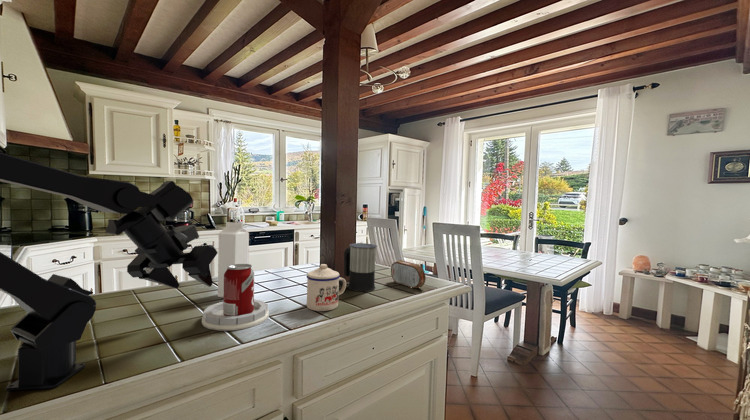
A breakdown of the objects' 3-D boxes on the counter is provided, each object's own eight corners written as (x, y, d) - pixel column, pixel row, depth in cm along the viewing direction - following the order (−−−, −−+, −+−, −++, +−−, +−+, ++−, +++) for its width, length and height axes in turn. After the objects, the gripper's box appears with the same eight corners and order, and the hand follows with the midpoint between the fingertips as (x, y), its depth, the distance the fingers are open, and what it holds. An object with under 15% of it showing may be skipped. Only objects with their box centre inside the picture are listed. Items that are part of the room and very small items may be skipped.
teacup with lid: (315, 314, 81) (316, 269, 81) (300, 304, 88) (301, 263, 88) (353, 305, 89) (355, 264, 88) (337, 297, 96) (338, 259, 95)
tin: (425, 290, 107) (426, 265, 107) (419, 291, 105) (420, 266, 105) (395, 280, 118) (395, 258, 118) (388, 281, 116) (389, 259, 116)
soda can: (233, 322, 72) (234, 270, 71) (217, 315, 76) (218, 266, 75) (259, 314, 77) (260, 265, 77) (243, 308, 81) (244, 262, 81)
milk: (232, 291, 99) (233, 221, 98) (248, 293, 97) (249, 222, 97) (217, 297, 93) (218, 222, 92) (234, 299, 91) (235, 223, 91)
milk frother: (380, 287, 108) (381, 244, 108) (354, 299, 95) (355, 250, 95) (346, 281, 116) (348, 241, 115) (318, 291, 102) (319, 245, 102)
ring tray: (262, 329, 71) (262, 318, 71) (190, 331, 69) (190, 320, 69) (273, 306, 86) (273, 297, 86) (214, 308, 83) (214, 299, 83)
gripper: (211, 206, 67) (245, 257, 76) (141, 215, 72) (181, 262, 81) (179, 243, 58) (222, 295, 68) (102, 250, 63) (152, 298, 72)
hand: (194, 286), depth 72 cm, fingers open, 9 cm apart
